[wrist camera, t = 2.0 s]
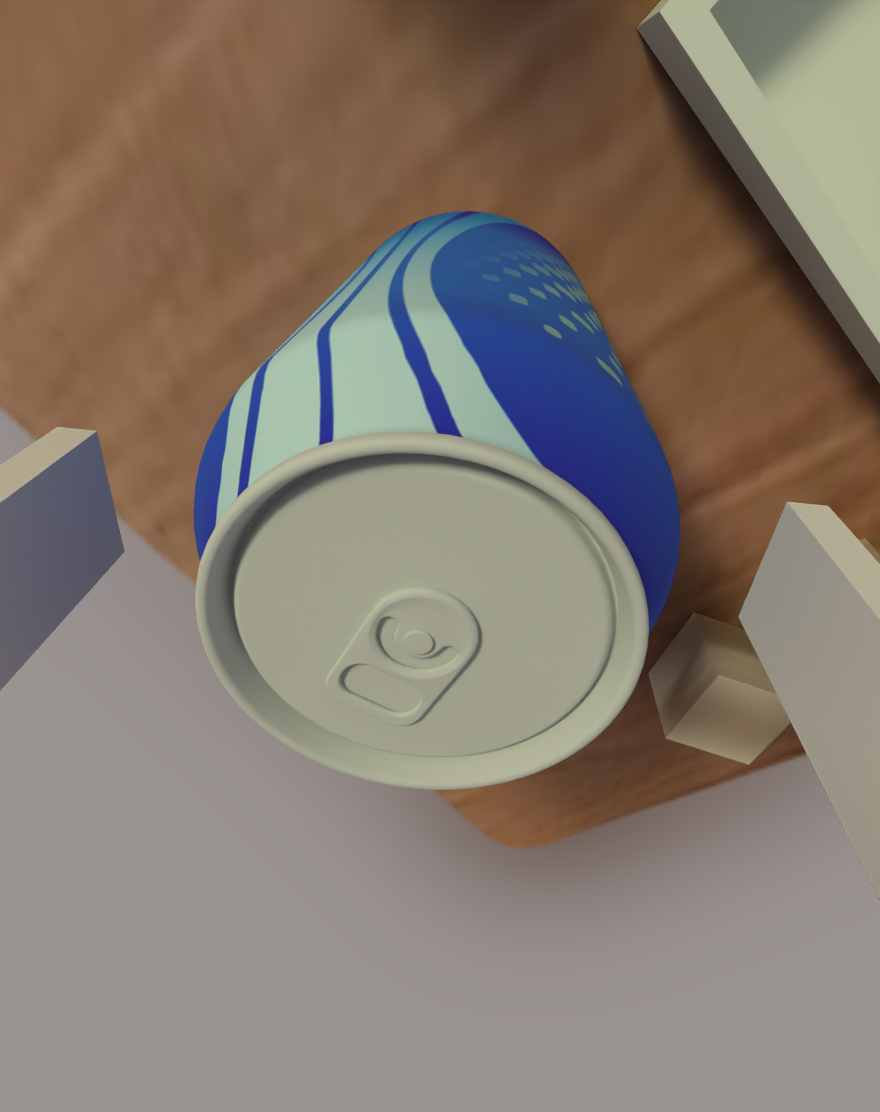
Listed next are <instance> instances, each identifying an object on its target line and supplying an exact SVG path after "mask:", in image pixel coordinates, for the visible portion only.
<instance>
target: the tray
mask: <svg viewBox="0 0 880 1112" xmlns="http://www.w3.org/2000/svg"><path fill="white" fill-rule="evenodd" d="M637 29H638V31H639V32H640V34H641V35H642V37H643V38H644V39H645V41H646V42H647V44H648V45H649V47H650V48H651V50H652V51H653V53H654V54H655V56H656V57H657V58H658V60H659V61H660V63H661V64H662V66H663V67H664V69H665V70H666V72H667V73H668V75H669V76H670V77H671V79H672V80H673V82H674V83H675V85H676V86H677V88H678V89H679V91H680V92H681V94H682V95H683V97H684V98H685V99H686V101H687V102H688V104H689V105H690V107H691V108H692V110H693V111H694V113H695V114H696V116H697V117H698V118H699V120H700V121H701V123H702V124H703V126H704V127H705V129H706V130H707V132H708V133H709V135H710V136H711V137H712V139H713V140H714V142H715V143H716V145H717V146H718V148H719V149H720V151H721V152H722V154H723V155H724V157H725V158H726V159H727V161H728V162H729V164H730V165H731V167H732V168H733V170H734V171H735V173H736V174H737V176H738V177H739V178H740V180H741V181H742V183H743V184H744V186H745V187H746V189H747V190H748V192H749V193H750V195H751V196H752V198H753V199H754V200H755V202H756V203H757V205H758V206H759V208H760V209H761V211H762V212H763V214H764V215H765V217H766V218H767V219H768V221H769V222H770V224H771V225H772V227H773V228H774V230H775V231H776V233H777V234H778V236H779V237H780V238H781V240H782V241H783V243H784V244H785V246H786V247H787V249H788V250H789V252H790V253H791V255H792V256H793V258H794V259H795V260H796V262H797V263H798V265H799V266H800V268H801V269H802V271H803V272H804V274H805V275H806V277H807V278H808V279H809V281H810V282H811V284H812V285H813V287H814V288H815V290H816V291H817V293H818V294H819V296H820V297H821V298H822V300H823V301H824V303H825V304H826V306H827V307H828V309H829V310H830V312H831V313H832V315H833V316H834V318H835V319H836V320H837V322H838V323H839V325H840V326H841V328H842V329H843V331H844V332H845V334H846V335H847V337H848V338H849V339H850V341H851V342H852V344H853V345H854V347H855V348H856V350H857V351H858V353H859V354H860V356H861V357H862V358H863V360H864V361H865V363H866V364H867V366H868V367H869V369H870V370H871V372H872V373H873V375H874V376H875V378H876V379H877V380H878V382H879V383H880V0H661V1H660V2H659V3H658V4H657V5H656V6H655V8H654V9H653V10H652V11H651V12H650V13H649V14H648V15H647V17H646V18H645V19H644V20H643V21H642V22H641V23H640V24H639V25H638V27H637Z"/></svg>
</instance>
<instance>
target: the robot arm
mask: <svg viewBox="0 0 880 1112" xmlns="http://www.w3.org/2000/svg"><path fill="white" fill-rule="evenodd" d="M123 553H124V548H123V543H122V539H121V535H120V530H119V526H118V521H117V517H116V513H115V508H114V504H113V500H112V495H111V491H110V487H109V482H108V478H107V473H106V469H105V465H104V460H103V456H102V452H101V447H100V443H99V439H98V434H97V431H91V430H82V429H72V428H62V427H57V428H55V429H54V430H52V431H51V432H49V433H48V434H46V435H45V436H43V437H42V438H40V439H39V440H37V441H36V442H34V443H33V444H31V445H30V446H28V447H27V448H25V449H24V450H22V451H21V452H19V453H18V454H16V455H15V456H13V457H12V458H10V459H9V460H8V461H6V462H4V463H3V464H1V465H0V690H1V689H2V688H3V687H4V686H5V684H7V682H8V681H9V680H10V679H11V678H12V677H13V676H14V675H15V673H16V672H17V671H18V670H19V669H20V668H21V667H22V666H23V665H24V663H25V662H26V661H27V660H28V659H29V658H30V657H31V656H32V654H33V653H34V652H35V651H36V650H37V649H38V648H39V647H40V646H41V644H42V643H43V642H44V641H45V640H46V639H47V638H48V637H49V635H50V634H51V633H52V632H53V631H54V630H55V629H56V628H57V627H58V625H59V624H60V623H61V622H62V621H63V620H64V619H65V617H66V616H67V615H68V614H69V613H70V612H71V611H72V610H73V609H74V607H75V606H76V605H77V604H78V603H79V602H80V601H81V600H82V598H83V597H84V596H85V595H86V594H87V593H88V592H89V591H90V590H91V588H92V587H93V586H94V585H95V584H96V583H97V582H98V581H99V579H100V578H101V577H102V576H103V575H104V574H105V573H106V571H108V569H109V568H110V567H111V566H112V565H113V564H114V563H115V561H116V560H117V559H118V558H119V557H120V556H121V555H122V554H123ZM738 617H739V619H740V621H741V623H742V625H743V627H744V629H745V631H746V633H747V635H748V637H749V639H750V641H751V643H752V645H753V647H754V649H755V651H756V653H757V655H758V657H759V659H760V661H761V663H762V665H763V667H764V669H765V671H766V673H767V675H768V677H769V679H770V681H771V683H772V685H773V687H774V689H775V691H776V693H777V695H778V697H779V699H780V701H781V703H782V705H783V707H784V709H785V711H786V713H787V715H788V717H789V719H790V721H791V723H792V725H793V727H794V729H795V731H796V733H797V735H798V737H799V739H800V741H801V743H802V745H803V747H804V749H805V751H806V753H807V755H808V758H809V760H810V761H811V764H812V766H813V767H814V770H815V772H816V773H817V775H818V777H819V780H820V782H821V784H822V785H823V787H824V790H825V792H826V794H827V795H828V797H829V799H830V802H831V803H832V805H833V808H834V810H835V812H836V814H837V816H838V818H839V819H840V822H841V824H842V826H843V828H844V830H845V832H846V834H847V836H848V838H849V840H850V842H851V844H852V846H853V848H854V850H855V852H856V854H857V856H858V858H859V860H860V862H861V864H862V866H863V868H864V870H865V872H866V874H867V876H868V878H869V880H870V882H871V884H872V886H873V888H874V890H875V892H876V894H877V896H878V898H879V900H880V564H879V563H878V561H877V560H876V559H875V558H874V557H873V556H872V555H871V554H870V552H869V551H868V550H867V549H866V548H865V547H864V546H863V545H862V543H861V542H860V541H859V540H858V539H857V538H856V537H855V536H854V534H853V533H852V532H851V531H850V530H849V529H848V528H847V527H846V525H845V524H844V523H843V522H842V521H841V520H840V519H839V518H838V516H837V515H836V514H835V513H834V512H833V511H832V510H831V509H830V507H829V506H823V505H814V504H804V503H794V502H787V503H786V505H785V508H784V510H783V512H782V515H781V517H780V519H779V522H778V524H777V527H776V529H775V531H774V534H773V536H772V538H771V541H770V543H769V545H768V548H767V550H766V553H765V555H764V557H763V560H762V562H761V564H760V567H759V569H758V571H757V574H756V576H755V579H754V581H753V583H752V586H751V588H750V590H749V593H748V595H747V597H746V600H745V602H744V605H743V607H742V609H741V612H740V614H739V616H738Z"/></svg>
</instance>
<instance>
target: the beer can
mask: <svg viewBox="0 0 880 1112" xmlns="http://www.w3.org/2000/svg"><path fill="white" fill-rule="evenodd" d="M194 532H195V538H196V544H197V551H198V555H199V558H200V566H199V570H198V575H197V582H196V595H195V600H196V616H197V622H198V628H199V633H200V636H201V640H202V643H203V647H204V649H205V652H206V654H207V656H208V659H209V661H210V663H211V665H212V667H213V669H214V671H215V672H216V674H217V676H218V678H219V680H220V681H221V682H222V684H223V686H224V687H225V689H226V690H227V691H228V693H229V694H230V695H231V696H232V698H233V699H234V700H235V701H236V703H237V704H238V705H239V706H240V707H241V708H242V709H243V710H244V711H245V712H246V713H247V714H248V715H249V716H250V717H251V718H252V719H253V720H254V721H255V722H256V723H257V724H259V725H260V726H261V727H262V728H263V729H264V730H265V731H267V732H268V733H270V734H271V735H272V736H273V737H275V738H276V739H277V740H279V741H280V742H282V743H284V744H285V745H287V746H288V747H290V748H291V749H293V750H294V751H296V752H298V753H300V754H302V755H304V756H306V757H307V758H309V759H311V760H313V761H315V762H318V763H320V764H322V765H324V766H326V767H329V768H331V769H334V770H336V771H339V772H342V773H344V774H348V775H351V776H354V777H357V778H360V779H364V780H368V781H372V782H376V783H381V784H386V785H392V786H398V787H406V788H414V789H431V790H452V789H467V788H476V787H483V786H489V785H494V784H499V783H504V782H508V781H512V780H515V779H519V778H523V777H525V776H528V775H531V774H534V773H537V772H539V771H542V770H544V769H546V768H548V767H551V766H553V765H555V764H557V763H559V762H561V761H562V760H564V759H566V758H568V757H570V756H571V755H573V754H574V753H576V752H577V751H579V750H580V749H582V748H583V747H585V746H586V745H587V744H589V743H590V742H591V741H592V740H594V739H595V738H596V737H597V736H598V735H599V734H600V733H602V732H603V731H604V730H605V729H606V728H607V727H608V726H609V725H610V724H611V722H612V721H613V720H614V719H615V718H616V716H617V715H618V714H619V713H620V711H621V710H622V709H623V707H624V706H625V704H626V702H627V701H628V699H629V698H630V696H631V694H632V692H633V690H634V688H635V686H636V684H637V682H638V680H639V677H640V674H641V671H642V668H643V665H644V661H645V657H646V652H647V647H648V636H649V633H650V631H651V629H652V628H653V626H654V625H655V623H656V621H657V620H658V617H659V615H660V613H661V611H662V609H663V607H664V605H665V603H666V600H667V597H668V594H669V591H670V588H671V586H672V582H673V578H674V574H675V569H676V565H677V560H678V553H679V543H680V516H679V509H678V502H677V495H676V490H675V486H674V482H673V478H672V475H671V471H670V467H669V465H668V462H667V460H666V457H665V455H664V452H663V450H662V447H661V445H660V443H659V441H658V439H657V437H656V435H655V433H654V431H653V429H652V426H651V424H650V422H649V420H648V418H647V416H646V414H645V412H644V410H643V408H642V406H641V404H640V402H639V400H638V398H637V396H636V394H635V392H634V390H633V388H632V386H631V384H630V382H629V380H628V378H627V376H626V374H625V372H624V370H623V368H622V366H621V364H620V362H619V360H618V358H617V355H616V353H615V351H614V349H613V347H612V345H611V343H610V341H609V339H608V337H607V335H606V333H605V331H604V329H603V327H602V325H601V323H600V321H599V319H598V317H597V315H596V313H595V311H594V309H593V307H592V305H591V303H590V301H589V299H588V297H587V295H586V293H585V291H584V289H583V287H582V285H581V283H580V281H579V279H578V277H577V275H576V273H575V272H574V270H573V269H572V267H571V266H570V264H569V263H568V261H567V260H566V259H565V258H564V257H563V256H562V254H561V253H560V252H559V251H558V250H557V249H556V248H555V247H554V246H553V245H552V244H551V243H550V242H549V241H547V240H546V239H545V238H543V237H542V236H541V235H539V234H538V233H537V232H535V231H533V230H532V229H530V228H528V227H527V226H525V225H523V224H520V223H518V222H516V221H514V220H511V219H508V218H505V217H502V216H499V215H494V214H490V213H483V212H473V211H464V212H451V213H444V214H439V215H435V216H431V217H428V218H425V219H423V220H420V221H417V222H415V223H413V224H411V225H409V226H407V227H405V228H404V229H402V230H400V231H399V232H397V233H396V234H394V235H393V236H391V237H390V238H389V239H388V240H386V241H385V242H384V243H383V244H382V245H381V246H380V247H379V248H378V249H377V250H376V251H375V252H374V253H373V254H372V255H371V256H370V257H369V258H368V259H367V260H366V261H365V262H364V263H363V264H362V265H361V266H360V267H359V268H358V269H357V270H356V271H355V272H354V273H353V274H352V275H351V276H350V277H349V278H348V279H347V280H346V281H345V282H344V283H343V284H342V285H341V286H340V287H339V288H338V289H337V290H336V291H335V292H334V293H333V294H332V295H331V296H330V297H329V298H328V299H327V300H326V301H325V302H324V303H323V304H322V305H321V306H320V307H319V308H318V309H317V310H316V311H315V312H314V313H313V314H312V315H311V316H310V317H309V318H308V319H307V320H306V321H305V322H304V323H303V324H302V325H301V326H300V327H299V328H298V329H297V330H296V331H295V332H294V333H293V334H292V335H291V336H290V337H289V338H288V339H287V340H286V341H285V342H284V343H283V344H282V345H281V346H280V347H279V348H278V349H277V350H276V351H275V352H274V353H273V354H272V355H271V356H270V357H269V358H268V359H267V360H266V361H265V362H264V363H263V364H262V365H261V366H260V367H259V368H258V369H257V370H256V371H255V372H254V373H253V374H252V375H251V376H250V377H249V378H248V379H247V380H246V381H245V383H244V384H243V385H242V386H241V387H240V389H239V390H238V391H237V392H236V394H235V395H234V396H233V397H232V399H231V400H230V402H229V403H228V405H227V406H226V408H225V409H224V411H223V413H222V414H221V416H220V417H219V419H218V421H217V423H216V424H215V426H214V429H213V431H212V433H211V435H210V437H209V439H208V441H207V443H206V446H205V449H204V452H203V456H202V459H201V462H200V465H199V470H198V475H197V480H196V486H195V500H194Z"/></svg>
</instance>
